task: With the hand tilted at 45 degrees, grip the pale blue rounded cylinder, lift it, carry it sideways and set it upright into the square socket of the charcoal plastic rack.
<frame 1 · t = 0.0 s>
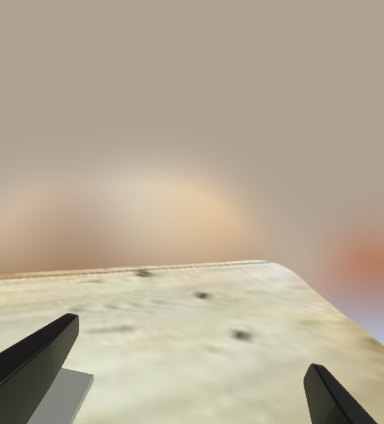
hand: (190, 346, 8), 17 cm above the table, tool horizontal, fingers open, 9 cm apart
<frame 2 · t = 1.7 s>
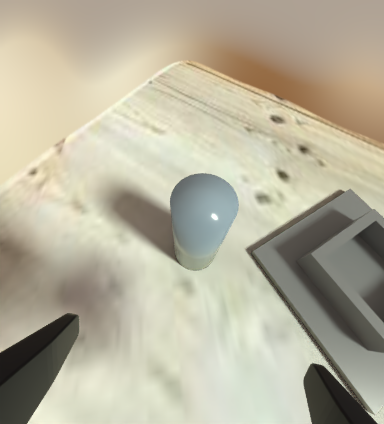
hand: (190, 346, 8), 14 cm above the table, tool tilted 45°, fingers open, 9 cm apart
rack: (354, 278, 23), on the table
pale blue rounded cylinder: (195, 250, 24), on the table
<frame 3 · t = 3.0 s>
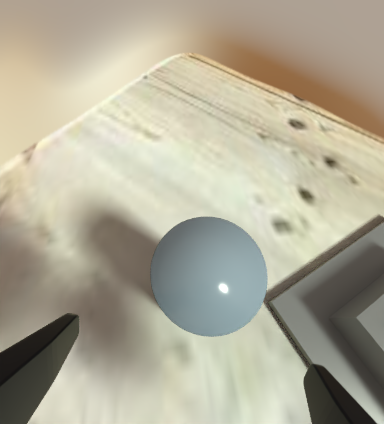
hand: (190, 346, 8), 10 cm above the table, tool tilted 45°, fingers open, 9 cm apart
pale blue rounded cylinder: (193, 297, 18), on the table
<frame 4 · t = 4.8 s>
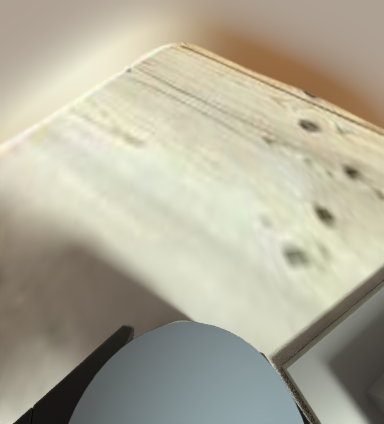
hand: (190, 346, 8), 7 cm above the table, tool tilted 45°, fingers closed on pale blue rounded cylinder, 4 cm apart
pale blue rounded cylinder: (181, 360, 14), on the table, touching gripper
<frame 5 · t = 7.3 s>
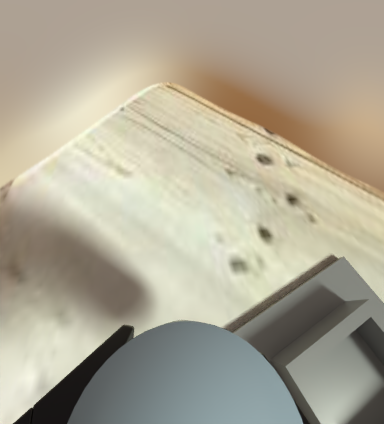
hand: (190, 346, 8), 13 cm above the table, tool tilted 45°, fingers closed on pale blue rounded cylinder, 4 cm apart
rack: (342, 381, 19), on the table
pale blue rounded cylinder: (181, 360, 14), point 7 cm above the table, touching gripper
when the fingers open (9 cm above the table, at t = 10.0 s): pale blue rounded cylinder drops 1 cm, resting on rack.
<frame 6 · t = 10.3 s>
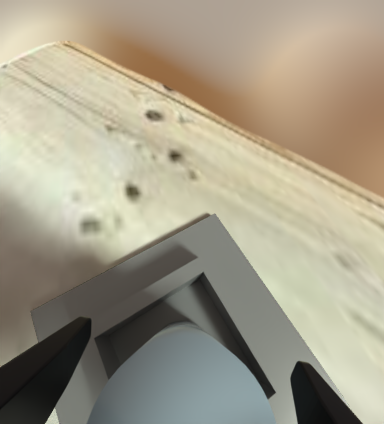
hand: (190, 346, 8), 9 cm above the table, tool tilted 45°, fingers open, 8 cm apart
rack: (181, 354, 16), on the table
pale blue rounded cylinder: (181, 357, 15), point 1 cm above the table, touching rack
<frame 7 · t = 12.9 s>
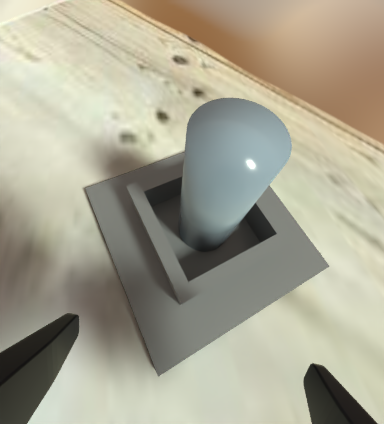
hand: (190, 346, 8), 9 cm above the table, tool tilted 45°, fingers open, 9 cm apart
rack: (202, 229, 20), on the table
pale blue rounded cylinder: (203, 226, 19), point 1 cm above the table, touching rack
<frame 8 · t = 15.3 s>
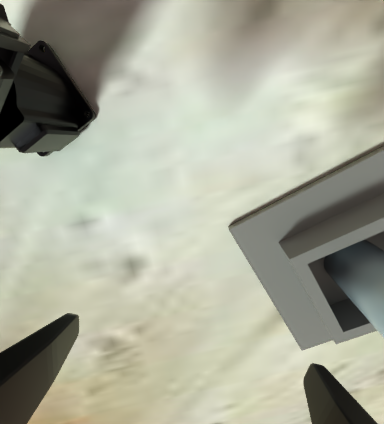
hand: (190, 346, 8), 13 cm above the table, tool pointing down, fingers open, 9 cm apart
rack: (345, 256, 20), on the table
pale blue rounded cylinder: (350, 260, 20), point 1 cm above the table, touching rack
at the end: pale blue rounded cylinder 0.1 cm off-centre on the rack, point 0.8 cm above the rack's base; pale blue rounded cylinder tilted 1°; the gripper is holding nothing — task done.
